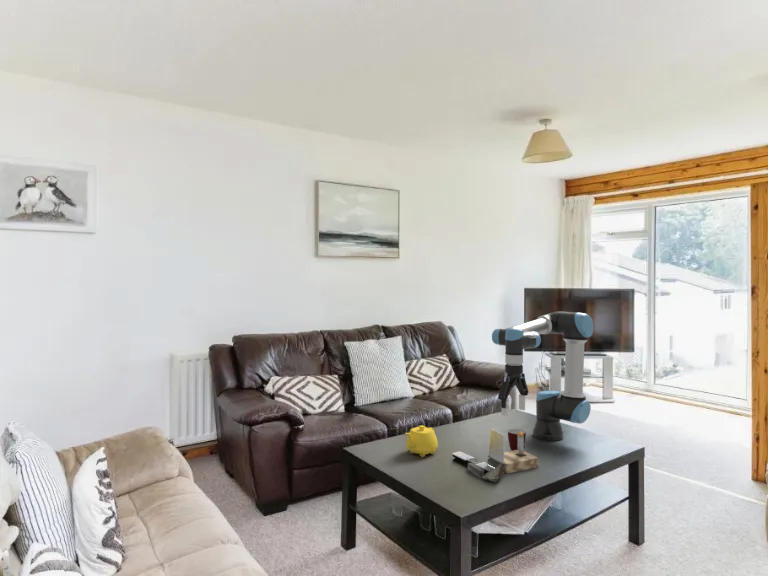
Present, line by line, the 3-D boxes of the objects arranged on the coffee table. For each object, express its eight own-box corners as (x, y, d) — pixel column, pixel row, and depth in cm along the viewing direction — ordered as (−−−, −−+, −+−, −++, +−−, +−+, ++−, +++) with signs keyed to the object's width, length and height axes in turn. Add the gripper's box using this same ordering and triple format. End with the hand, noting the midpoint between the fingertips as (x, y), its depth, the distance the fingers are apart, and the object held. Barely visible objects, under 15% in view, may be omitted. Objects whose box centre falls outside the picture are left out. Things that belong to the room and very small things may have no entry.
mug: (532, 456, 230) (532, 434, 230) (517, 458, 227) (517, 436, 227) (518, 448, 240) (518, 428, 239) (504, 450, 237) (504, 429, 237)
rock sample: (480, 464, 210) (493, 454, 206) (494, 475, 211) (508, 466, 206) (475, 483, 202) (490, 474, 197) (490, 495, 202) (505, 486, 197)
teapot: (444, 452, 236) (444, 425, 236) (416, 463, 222) (416, 434, 222) (423, 444, 246) (423, 419, 246) (394, 455, 232) (394, 428, 232)
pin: (521, 462, 222) (520, 431, 222) (524, 464, 220) (524, 432, 220) (516, 463, 221) (516, 432, 221) (520, 465, 219) (520, 433, 218)
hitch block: (519, 457, 228) (519, 449, 228) (538, 466, 217) (538, 457, 217) (465, 468, 215) (465, 459, 215) (482, 478, 205) (482, 469, 204)
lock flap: (489, 457, 219) (491, 428, 220) (504, 465, 210) (506, 435, 211) (487, 457, 219) (489, 428, 219) (502, 465, 210) (504, 435, 210)
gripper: (521, 359, 229) (521, 406, 229) (489, 366, 212) (489, 415, 212) (536, 361, 223) (536, 409, 224) (505, 368, 206) (504, 419, 207)
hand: (513, 412), depth 218 cm, fingers open, 13 cm apart
